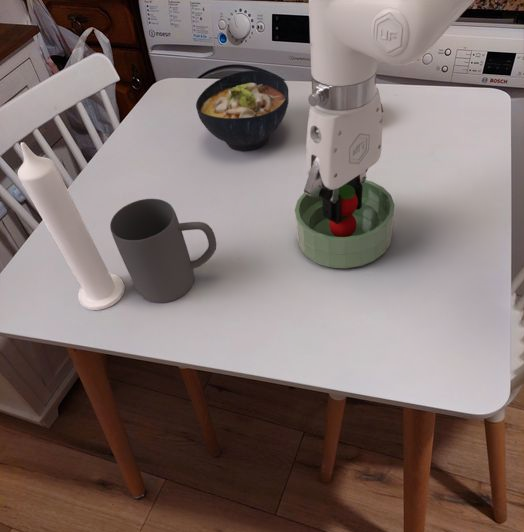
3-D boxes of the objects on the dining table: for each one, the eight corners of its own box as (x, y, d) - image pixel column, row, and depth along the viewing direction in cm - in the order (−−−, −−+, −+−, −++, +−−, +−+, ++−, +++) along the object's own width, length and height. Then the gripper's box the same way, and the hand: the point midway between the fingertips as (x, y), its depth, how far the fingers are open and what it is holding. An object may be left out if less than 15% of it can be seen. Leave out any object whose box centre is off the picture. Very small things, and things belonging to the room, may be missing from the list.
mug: (133, 307, 76) (103, 245, 66) (140, 264, 81) (114, 201, 72) (224, 297, 75) (207, 233, 65) (225, 255, 80) (209, 190, 71)
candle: (76, 287, 80) (-11, 138, 60) (119, 271, 81) (47, 119, 61) (84, 317, 76) (-7, 168, 56) (129, 299, 77) (56, 147, 57)
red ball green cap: (343, 224, 80) (341, 201, 77) (362, 233, 78) (361, 210, 75) (325, 237, 79) (322, 214, 76) (344, 247, 77) (342, 224, 74)
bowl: (191, 160, 98) (177, 109, 90) (225, 113, 107) (216, 63, 99) (274, 169, 93) (268, 116, 85) (303, 119, 102) (300, 66, 94)
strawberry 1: (330, 201, 77) (334, 178, 73) (357, 205, 76) (362, 183, 73) (325, 220, 75) (329, 197, 71) (353, 225, 74) (358, 203, 71)
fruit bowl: (342, 198, 85) (342, 166, 80) (410, 235, 78) (415, 202, 73) (279, 241, 81) (275, 210, 76) (345, 285, 73) (346, 254, 68)
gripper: (316, 127, 56) (320, 252, 71) (414, 67, 62) (399, 195, 76) (270, 106, 60) (283, 229, 75) (367, 51, 65) (361, 176, 80)
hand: (342, 211), depth 75 cm, fingers closed on strawberry 1, 3 cm apart
